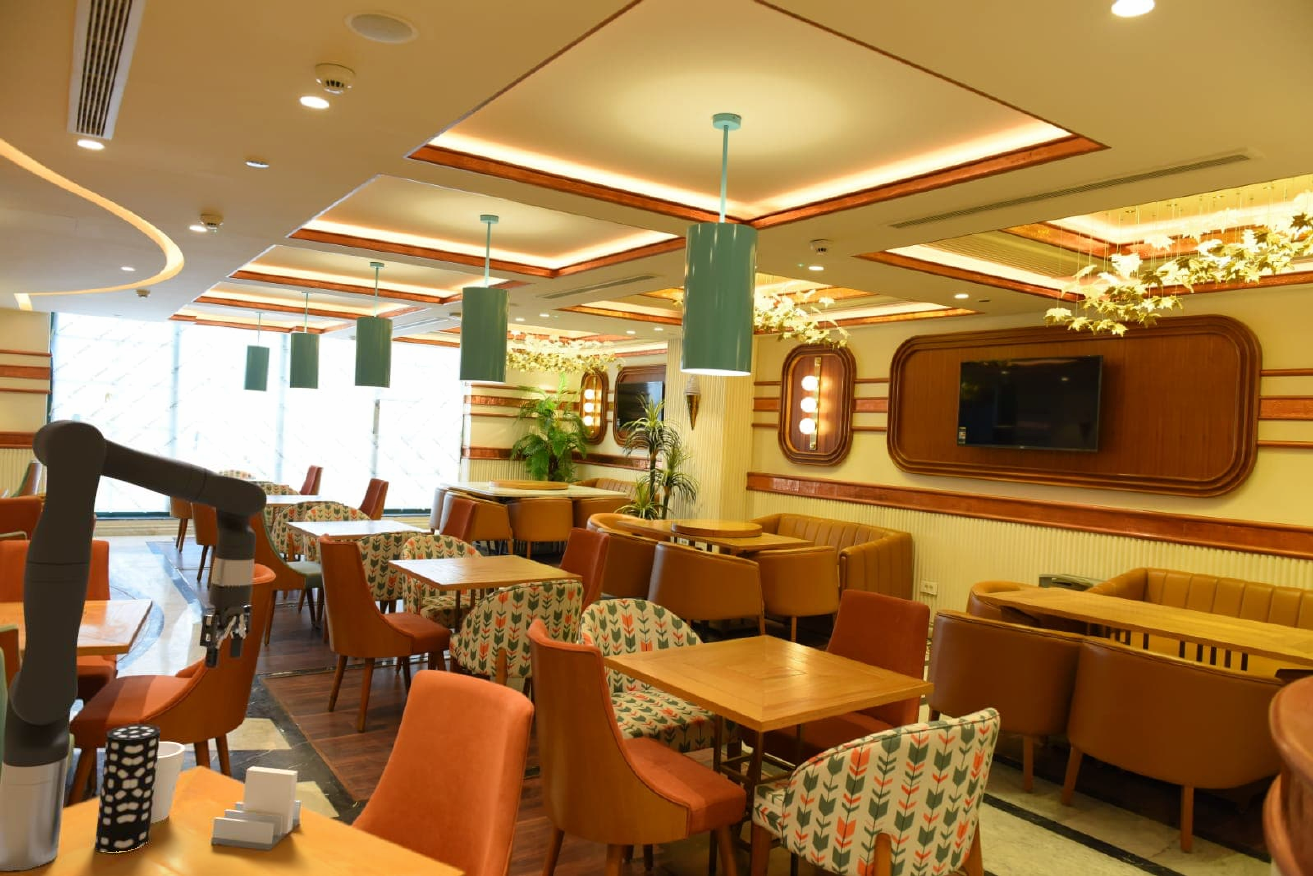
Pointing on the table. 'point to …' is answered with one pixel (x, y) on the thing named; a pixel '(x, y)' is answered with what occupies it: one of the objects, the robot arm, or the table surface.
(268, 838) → the dish rack
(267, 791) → the cream upright slab
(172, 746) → the foam cup
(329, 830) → the table surface
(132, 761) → the spotted tube
